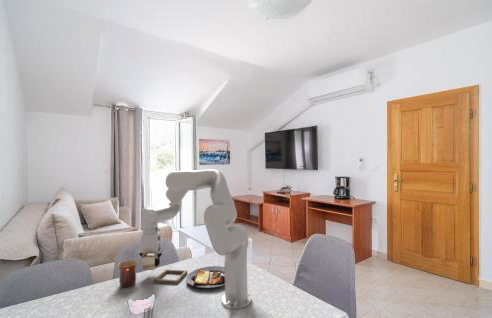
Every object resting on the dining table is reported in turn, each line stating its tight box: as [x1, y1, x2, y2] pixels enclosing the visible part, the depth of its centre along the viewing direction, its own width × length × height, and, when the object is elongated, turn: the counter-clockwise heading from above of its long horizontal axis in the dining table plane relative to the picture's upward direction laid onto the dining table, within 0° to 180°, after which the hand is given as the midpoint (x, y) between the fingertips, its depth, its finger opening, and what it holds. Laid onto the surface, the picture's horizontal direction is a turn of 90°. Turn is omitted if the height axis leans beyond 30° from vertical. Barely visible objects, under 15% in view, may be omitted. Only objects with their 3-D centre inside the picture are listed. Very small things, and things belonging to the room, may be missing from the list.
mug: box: [117, 259, 138, 288], centre depth 124 cm, size 12×9×10 cm
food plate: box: [185, 265, 225, 289], centre depth 129 cm, size 25×23×4 cm
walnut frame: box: [153, 268, 188, 285], centre depth 132 cm, size 12×12×2 cm
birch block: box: [142, 253, 161, 271], centre depth 135 cm, size 6×6×6 cm
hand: (151, 265), depth 135 cm, fingers closed on birch block, 6 cm apart
